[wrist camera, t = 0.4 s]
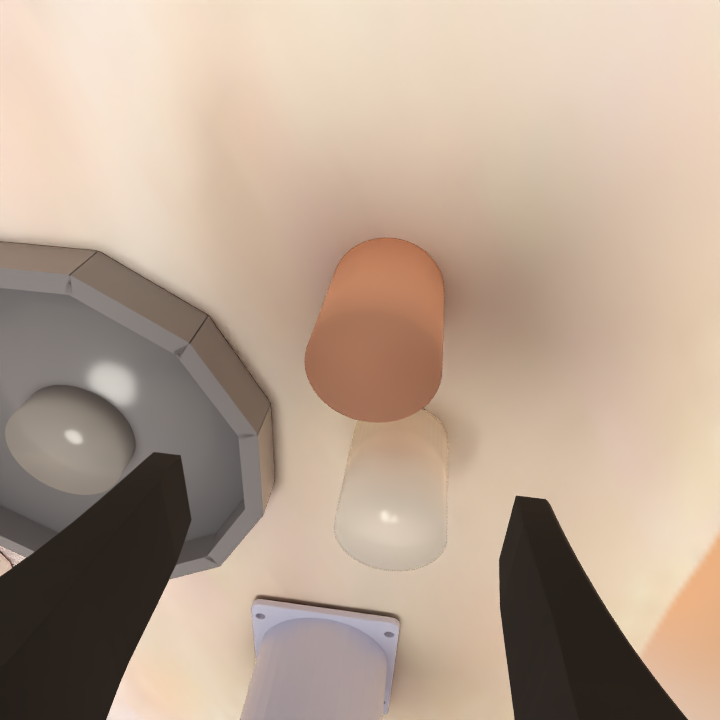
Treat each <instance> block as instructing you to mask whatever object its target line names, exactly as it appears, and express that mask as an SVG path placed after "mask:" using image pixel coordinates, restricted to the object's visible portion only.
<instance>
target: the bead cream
mask: <svg viewBox="0 0 720 720" xmlns="http://www.w3.org/2000/svg"><path fill="white" fill-rule="evenodd" d="M447 496H448V437H447V433H446V431H445V428H444V427H443V425H442V424H441V422H440V421H439V420H438V419H437V418H436V417H435V416H434V415H432V414H431V413H429V412H428V411H426V410H424V409H421V410H419V411H418V412H417V413H415V414H413V415H411V416H409V417H406V418H404V419H400V420H397V421H392V422H382V423H375V422H365V421H360V420H359V421H358V422H357V424H356V426H355V428H354V432H353V437H352V441H351V446H350V451H349V456H348V461H347V465H346V470H345V475H344V480H343V484H342V489H341V494H340V499H339V504H338V508H337V513H336V518H335V523H334V533H335V537H336V539H337V541H338V543H339V545H340V546H341V548H342V549H343V550H344V551H345V552H346V553H347V554H348V555H349V556H351V557H352V558H353V559H355V560H357V561H358V562H360V563H362V564H365V565H367V566H370V567H373V568H376V569H381V570H387V571H408V570H414V569H417V568H421V567H423V566H426V565H428V564H429V563H431V562H433V561H434V560H435V559H437V558H438V557H439V556H440V555H441V553H442V552H443V550H444V548H445V546H446V543H447Z"/></svg>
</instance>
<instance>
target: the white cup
mask: <svg viewBox="0 0 720 720" xmlns="http://www.w3.org/2000/svg"><path fill="white" fill-rule="evenodd" d="M11 568H12V566H11V564H10V562H9V561H8V560H7V559H6V558H5V557H4V556H3V555H2V554H1V553H0V576H1V575H3V574H4V573H6V572H7V571H9V570H10V569H11Z"/></svg>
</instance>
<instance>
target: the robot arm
mask: <svg viewBox="0 0 720 720" xmlns="http://www.w3.org/2000/svg"><path fill="white" fill-rule="evenodd" d="M191 520H192V519H191V513H190V507H189V501H188V495H187V489H186V483H185V477H184V471H183V465H182V459H181V455H175V454H167V453H159V452H153V453H152V454H151V455H150V456H148V457H147V458H146V459H145V460H144V461H143V462H141V463H140V464H139V465H138V466H137V467H136V468H135V469H134V470H132V471H131V472H130V473H129V474H128V475H127V476H126V477H125V478H123V479H122V480H121V481H120V482H119V483H118V484H117V485H115V486H114V487H113V488H112V489H111V490H110V491H109V492H107V493H106V494H105V495H104V496H103V497H102V498H101V499H99V500H98V501H97V502H96V503H95V504H93V505H92V506H91V507H90V508H89V509H88V510H86V511H85V512H84V513H83V514H82V515H80V516H79V517H78V518H77V519H76V520H75V521H73V522H72V523H71V524H70V525H68V526H67V527H66V528H65V529H63V530H62V531H61V532H59V533H58V534H57V535H56V536H54V537H53V538H52V539H50V540H49V541H48V542H47V543H45V544H44V545H43V546H41V547H40V548H39V549H38V550H36V551H35V552H34V553H32V554H31V555H30V556H28V557H27V558H25V559H24V560H23V561H21V562H20V563H19V564H17V565H16V566H14V567H13V568H11V569H10V570H9V571H7V572H6V573H4V574H3V575H1V576H0V720H106V719H107V716H108V713H109V711H110V708H111V705H112V703H113V700H114V697H115V695H116V692H117V689H118V687H119V684H120V681H121V679H122V677H123V675H124V672H125V670H126V668H127V665H128V663H129V661H130V659H131V657H132V655H133V653H134V651H135V648H136V646H137V644H138V642H139V640H140V638H141V636H142V634H143V632H144V630H145V628H146V626H147V624H148V622H149V620H150V618H151V616H152V614H153V612H154V610H155V608H156V606H157V604H158V601H159V599H160V597H161V595H162V593H163V591H164V589H165V587H166V585H167V583H168V581H169V579H170V577H171V575H172V572H173V570H174V568H175V566H176V564H177V561H178V558H179V556H180V553H181V550H182V547H183V544H184V541H185V538H186V535H187V532H188V529H189V526H190V523H191ZM499 579H500V610H501V618H502V626H503V634H504V642H505V650H506V657H507V665H508V672H509V680H510V687H511V695H512V702H513V710H514V717H515V720H688V719H687V718H686V717H685V716H684V714H683V713H682V712H681V711H680V709H679V708H678V707H677V706H676V704H675V703H674V702H673V701H672V699H671V698H670V697H669V696H668V694H667V693H666V692H665V691H664V689H663V688H662V687H661V686H660V684H659V683H658V681H657V680H656V679H655V677H654V676H653V675H652V674H651V672H650V671H649V669H648V668H647V667H646V666H645V664H644V663H643V661H642V660H641V659H640V657H639V656H638V654H637V653H636V652H635V650H634V649H633V647H632V646H631V644H630V643H629V642H628V640H627V639H626V637H625V636H624V634H623V633H622V631H621V630H620V628H619V627H618V625H617V624H616V622H615V621H614V619H613V618H612V616H611V614H610V613H609V611H608V610H607V608H606V606H605V605H604V603H603V602H602V600H601V598H600V597H599V595H598V593H597V592H596V590H595V588H594V587H593V585H592V583H591V582H590V580H589V578H588V576H587V575H586V573H585V571H584V570H583V568H582V566H581V564H580V562H579V561H578V559H577V557H576V555H575V553H574V551H573V550H572V548H571V546H570V544H569V542H568V540H567V538H566V536H565V534H564V532H563V530H562V528H561V526H560V524H559V522H558V520H557V518H556V516H555V514H554V512H553V510H552V507H551V505H550V504H549V502H548V501H547V500H546V499H539V498H531V497H523V496H516V498H515V502H514V505H513V509H512V513H511V517H510V521H509V524H508V528H507V532H506V536H505V540H504V544H503V547H502V551H501V555H500V559H499ZM251 613H252V623H253V634H254V644H255V654H256V663H255V667H254V670H253V674H252V678H251V681H250V685H249V688H248V692H247V695H246V699H245V703H244V706H243V710H242V713H241V717H240V720H382V717H383V714H386V713H387V712H388V709H389V702H390V694H391V687H392V680H393V672H394V665H395V658H396V650H397V643H398V636H399V627H400V623H399V621H398V620H397V619H395V618H392V617H386V616H379V615H371V614H364V613H357V612H350V611H343V610H336V609H329V608H322V607H314V606H307V605H300V604H293V603H286V602H279V601H272V600H265V599H257V600H254V601H253V603H252V607H251Z"/></svg>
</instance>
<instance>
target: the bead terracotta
mask: <svg viewBox="0 0 720 720" xmlns="http://www.w3.org/2000/svg"><path fill="white" fill-rule="evenodd" d="M443 315H444V282H443V278H442V275H441V272H440V270H439V268H438V266H437V264H436V263H435V262H434V260H433V259H432V258H431V257H430V256H429V255H428V254H427V253H426V252H425V251H424V250H422V249H421V248H420V247H418V246H416V245H414V244H412V243H410V242H407V241H404V240H401V239H395V238H377V239H372V240H368V241H366V242H363V243H361V244H359V245H357V246H355V247H354V248H352V249H351V250H350V251H349V252H348V253H347V254H346V255H345V256H344V257H343V258H342V259H341V261H340V262H339V264H338V266H337V268H336V271H335V273H334V276H333V278H332V281H331V284H330V286H329V289H328V292H327V295H326V297H325V300H324V303H323V305H322V308H321V311H320V313H319V316H318V319H317V321H316V324H315V327H314V329H313V332H312V335H311V337H310V340H309V343H308V345H307V349H306V353H305V369H306V374H307V377H308V380H309V382H310V384H311V386H312V388H313V390H314V391H315V392H316V394H317V395H318V396H319V397H320V398H321V399H322V400H323V401H324V402H325V403H326V404H327V405H328V406H329V407H331V408H332V409H334V410H335V411H337V412H339V413H341V414H343V415H345V416H347V417H350V418H352V419H356V420H360V421H365V422H375V423H382V422H392V421H397V420H400V419H404V418H406V417H409V416H411V415H413V414H415V413H417V412H418V411H419V410H421V409H422V408H424V407H425V406H426V405H427V404H428V403H429V402H430V401H431V399H432V398H433V397H434V395H435V393H436V392H437V390H438V387H439V385H440V382H441V377H442V356H443Z"/></svg>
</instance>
